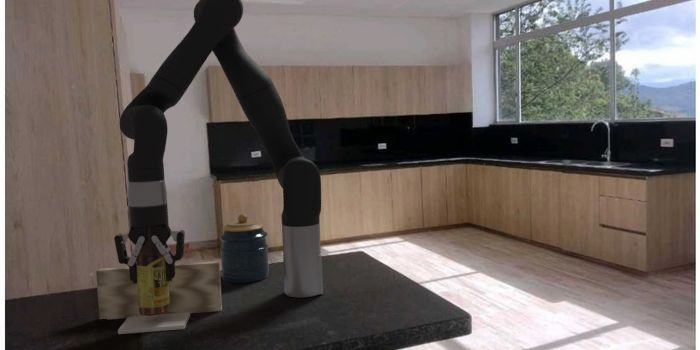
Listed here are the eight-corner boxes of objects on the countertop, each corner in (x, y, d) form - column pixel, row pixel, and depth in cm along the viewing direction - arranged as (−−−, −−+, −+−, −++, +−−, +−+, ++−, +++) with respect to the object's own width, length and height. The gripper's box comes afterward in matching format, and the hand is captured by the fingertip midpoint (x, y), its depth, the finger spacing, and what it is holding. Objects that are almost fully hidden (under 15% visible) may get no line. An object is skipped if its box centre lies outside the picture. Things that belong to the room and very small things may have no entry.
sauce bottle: (159, 318, 110) (154, 221, 108) (132, 316, 111) (126, 221, 109) (176, 307, 116) (171, 216, 114) (150, 306, 117) (144, 216, 115)
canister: (264, 283, 142) (261, 217, 140) (215, 284, 142) (212, 218, 141) (273, 270, 155) (270, 209, 153) (228, 271, 155) (225, 210, 154)
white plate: (190, 315, 118) (190, 312, 118) (184, 328, 110) (184, 325, 110) (128, 320, 117) (128, 316, 116) (118, 334, 109) (117, 330, 109)
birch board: (221, 308, 122) (219, 261, 122) (221, 310, 121) (218, 262, 120) (102, 317, 119) (98, 268, 118) (99, 320, 117) (96, 270, 116)
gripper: (186, 198, 116) (191, 274, 117) (117, 201, 114) (122, 278, 116) (180, 203, 109) (185, 284, 110) (106, 206, 107) (111, 289, 108)
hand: (153, 281), depth 113 cm, fingers closed on sauce bottle, 6 cm apart
